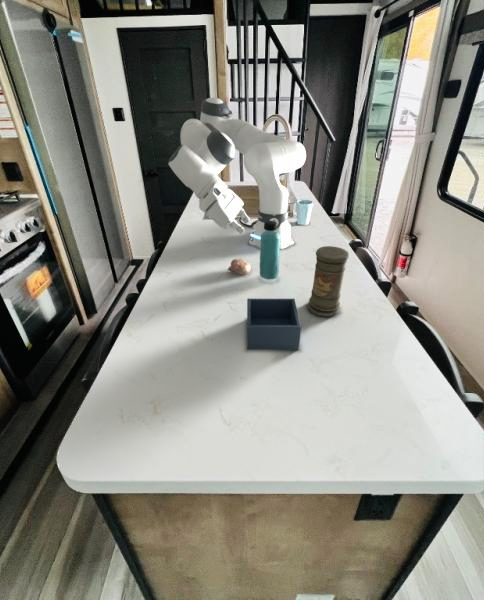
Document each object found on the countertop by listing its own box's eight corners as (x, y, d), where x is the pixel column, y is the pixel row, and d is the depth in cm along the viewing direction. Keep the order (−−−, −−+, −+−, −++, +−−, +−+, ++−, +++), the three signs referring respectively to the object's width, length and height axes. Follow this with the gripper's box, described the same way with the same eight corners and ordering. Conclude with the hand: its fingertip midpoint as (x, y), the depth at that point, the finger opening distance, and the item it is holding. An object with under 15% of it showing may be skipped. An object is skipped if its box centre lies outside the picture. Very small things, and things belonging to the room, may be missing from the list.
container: (318, 297, 99) (327, 242, 89) (344, 308, 93) (356, 251, 84) (301, 308, 94) (308, 251, 84) (328, 321, 88) (338, 262, 78)
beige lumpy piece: (226, 277, 110) (248, 273, 108) (223, 260, 109) (245, 255, 107) (232, 277, 117) (253, 273, 115) (229, 261, 117) (250, 256, 115)
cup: (300, 226, 152) (302, 205, 147) (291, 222, 158) (293, 201, 153) (313, 224, 155) (316, 202, 149) (304, 220, 161) (306, 199, 155)
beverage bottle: (277, 284, 106) (280, 226, 95) (257, 282, 107) (258, 224, 96) (279, 275, 111) (282, 219, 100) (260, 273, 112) (261, 218, 101)
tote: (247, 319, 89) (247, 298, 85) (292, 319, 89) (294, 298, 85) (247, 349, 78) (247, 327, 75) (298, 350, 78) (301, 327, 74)
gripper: (215, 192, 107) (244, 222, 111) (197, 210, 90) (231, 244, 94) (228, 178, 104) (257, 210, 108) (211, 194, 87) (246, 231, 91)
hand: (245, 226), depth 101 cm, fingers open, 8 cm apart
